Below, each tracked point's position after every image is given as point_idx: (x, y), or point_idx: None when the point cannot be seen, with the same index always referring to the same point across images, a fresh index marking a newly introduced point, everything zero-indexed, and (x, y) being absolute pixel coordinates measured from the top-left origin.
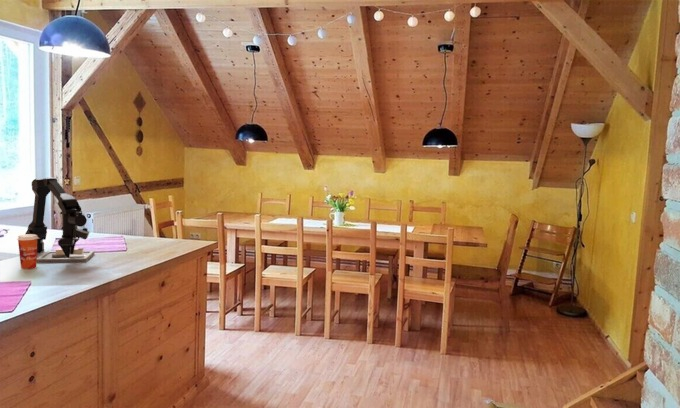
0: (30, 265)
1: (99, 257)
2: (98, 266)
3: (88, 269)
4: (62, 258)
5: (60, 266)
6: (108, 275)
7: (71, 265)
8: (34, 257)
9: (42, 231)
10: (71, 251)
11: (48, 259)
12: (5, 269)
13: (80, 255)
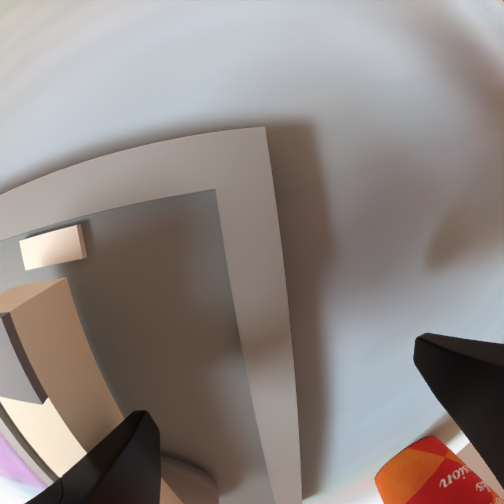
0: (447, 447)
1: (18, 105)
2: (408, 8)
3: (482, 76)
4: (279, 436)
5: (438, 327)
6: (497, 11)
7: (422, 249)
8: (464, 472)
9: None
10: (149, 452)
11: (299, 489)
12: None
13: None
